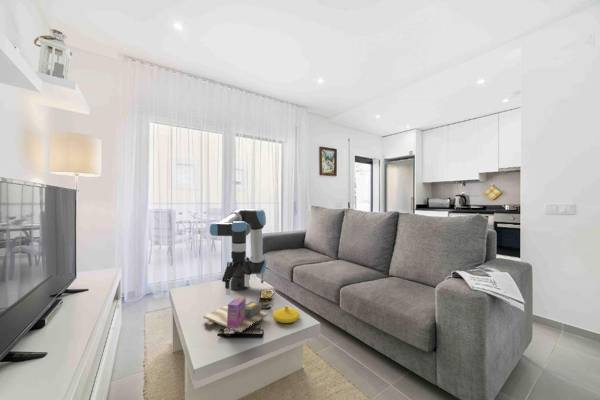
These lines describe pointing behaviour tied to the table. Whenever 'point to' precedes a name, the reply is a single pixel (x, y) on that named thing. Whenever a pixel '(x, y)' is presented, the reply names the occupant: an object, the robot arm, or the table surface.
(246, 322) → the beige cloth
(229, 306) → the box
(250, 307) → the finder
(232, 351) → the table surface
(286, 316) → the yellow pattypan squash
